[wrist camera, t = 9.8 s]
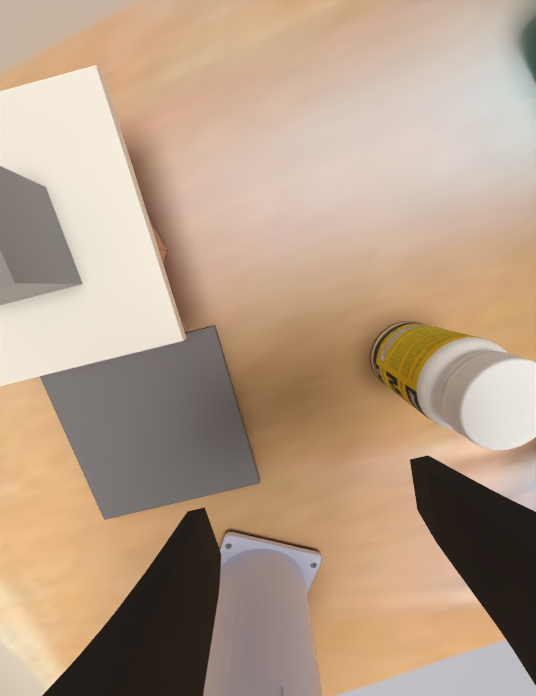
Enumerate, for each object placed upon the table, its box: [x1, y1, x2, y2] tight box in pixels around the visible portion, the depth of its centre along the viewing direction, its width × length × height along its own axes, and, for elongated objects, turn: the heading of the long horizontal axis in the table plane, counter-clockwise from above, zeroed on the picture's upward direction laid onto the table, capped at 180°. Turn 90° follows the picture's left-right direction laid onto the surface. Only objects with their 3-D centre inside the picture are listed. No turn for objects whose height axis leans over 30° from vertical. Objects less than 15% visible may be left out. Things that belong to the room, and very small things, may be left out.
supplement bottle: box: [371, 322, 536, 450], centre depth 15 cm, size 5×5×8 cm
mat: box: [40, 326, 260, 520], centre depth 20 cm, size 12×12×1 cm
